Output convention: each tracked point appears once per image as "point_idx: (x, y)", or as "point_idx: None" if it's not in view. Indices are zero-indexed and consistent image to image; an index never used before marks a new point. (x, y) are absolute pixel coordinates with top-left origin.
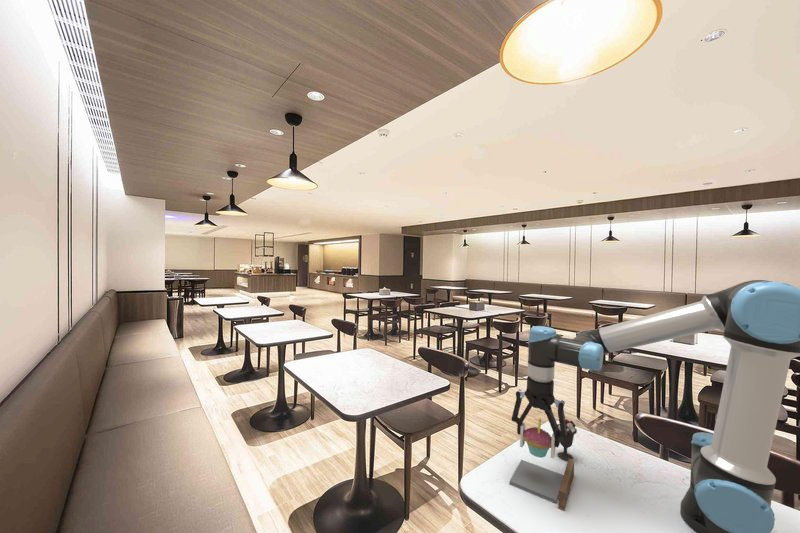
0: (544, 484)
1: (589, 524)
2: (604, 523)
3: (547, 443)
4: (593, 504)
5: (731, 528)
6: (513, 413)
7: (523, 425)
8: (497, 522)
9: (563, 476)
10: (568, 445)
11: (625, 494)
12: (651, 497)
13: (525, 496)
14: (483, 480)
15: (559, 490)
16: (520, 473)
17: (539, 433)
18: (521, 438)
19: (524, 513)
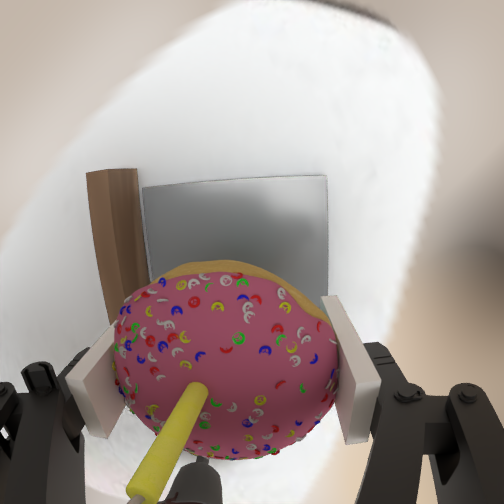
0: (202, 249)
1: (58, 170)
2: (35, 206)
3: (121, 324)
4: (69, 269)
5: None
6: (501, 439)
7: (358, 410)
8: None
9: (120, 282)
10: (183, 467)
11: (42, 361)
12: (16, 376)
13: (249, 146)
14: (408, 135)
15: (105, 170)
16: (304, 254)
17: (188, 386)
18: (341, 322)
19: (224, 62)
